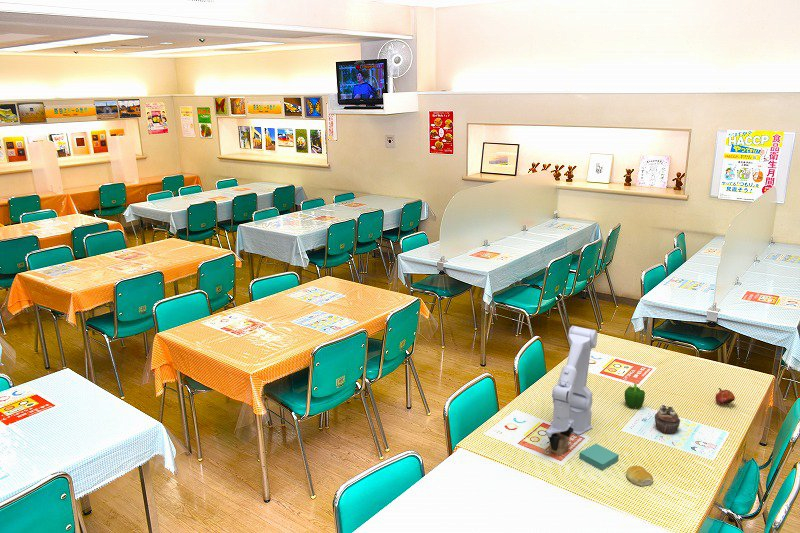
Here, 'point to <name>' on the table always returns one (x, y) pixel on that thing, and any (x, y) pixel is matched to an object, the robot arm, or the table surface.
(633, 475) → the bread roll
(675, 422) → the cupcake
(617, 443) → the table surface
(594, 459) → the teal base
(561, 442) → the walnut block
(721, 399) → the pomegranate
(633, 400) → the bell pepper
